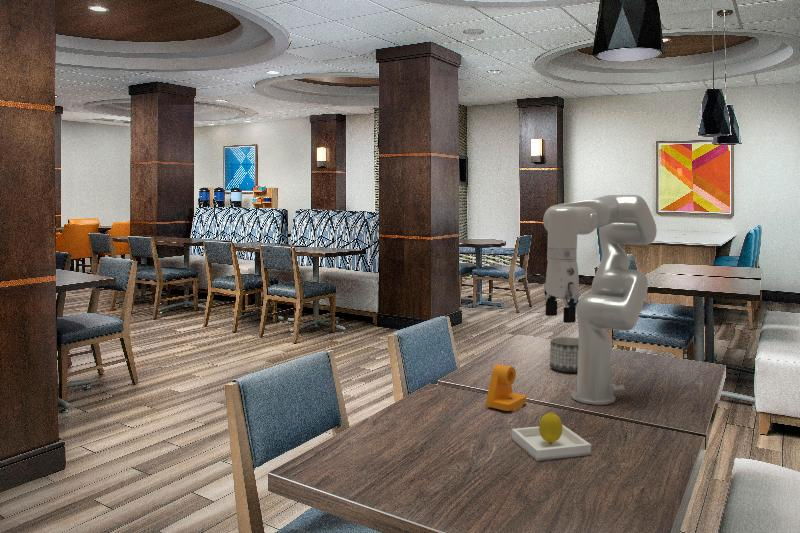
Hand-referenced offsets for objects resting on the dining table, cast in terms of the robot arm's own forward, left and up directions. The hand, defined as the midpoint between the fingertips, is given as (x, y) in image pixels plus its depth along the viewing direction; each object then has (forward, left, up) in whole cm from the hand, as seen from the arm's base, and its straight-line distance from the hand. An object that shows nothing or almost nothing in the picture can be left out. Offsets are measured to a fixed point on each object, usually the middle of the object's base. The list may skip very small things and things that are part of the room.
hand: (560, 318), depth 168 cm
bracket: (+8, -15, -29) cm, 33 cm away
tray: (+10, +15, -28) cm, 34 cm away
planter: (-29, -46, -29) cm, 61 cm away
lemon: (+10, +15, -28) cm, 33 cm away
